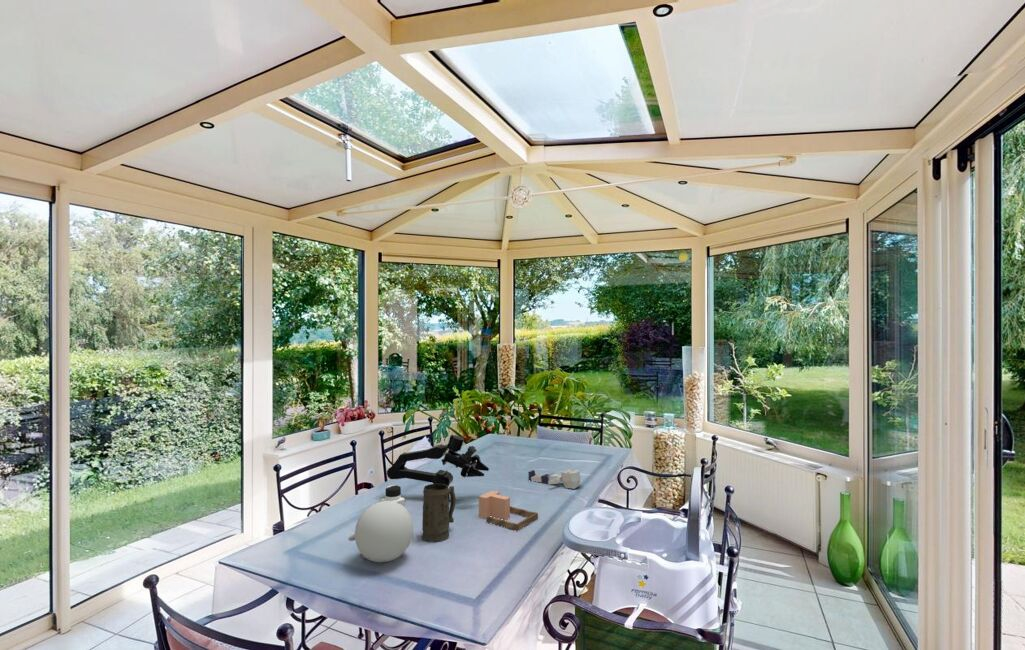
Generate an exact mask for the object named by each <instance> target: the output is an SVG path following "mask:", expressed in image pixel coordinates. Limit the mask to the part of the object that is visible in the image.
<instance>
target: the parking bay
mask: <svg viewBox="0 0 1025 650" xmlns="http://www.w3.org/2000/svg"><path fill="white" fill-rule="evenodd" d="M510 512H511V513H510V514H513V513H514V515H517V514H518V515H517V516H521V515H522V516H521V517H525V516H526V517H525V519H523V520H521V521H519V522H518V523H515V522H512V521H509V520H506V521H505V520H501V519H498V518H494V517H490V516H487V517H486V519H485V520H486V522H488V523H487V524H490V523H492V524H491V525H493V524H495V525H494V526H497V525H499V526H498V527H501V526H502V527H501V528H504V527H505V528H504V529H508V528H509V530H511V529H512V531H515V530H516V531H515V532H518V530H519V531H521V530H522V529H524V528H526V527H527V526H529V525H530V524H531V523H532V524H533V522H535V521H537V520H538V519H539V513H538V512H535V511H531V510H527V509H524V508H518V507H514V506H511V505H510ZM523 527H524V528H523ZM520 529H521V530H520Z"/></svg>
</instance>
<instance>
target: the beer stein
mask: <svg viewBox="0 0 1025 650" xmlns="http://www.w3.org/2000/svg"><path fill="white" fill-rule="evenodd" d="M422 494H423V503H422V524H421V525H422V528H421V529H422V534H421V538H422V539H423V540H424V541H425V540H426V542H429V541H439V542H443V541H445V540H447V539H448V538H449V537H450V531H449V530H450V523H451V524H452V523H454V520H455V519H454V517H453V514H454V511H455V507H456V502H457V501H456V498H457V497H456V493H455V486H454V485H451V486H450V485H449V486H447V485H445V484H433V483H432V484H431V483H430V484H426V485H425V486H424V487H423V490H422ZM448 494H449V497H450V500H449V501H448ZM449 502H450V503H449ZM442 540H443V541H442Z"/></svg>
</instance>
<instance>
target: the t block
mask: <svg viewBox="0 0 1025 650" xmlns="http://www.w3.org/2000/svg"><path fill="white" fill-rule="evenodd" d="M510 506H511V497H510V496H505V495H501V494H500V491H497V490H490V491H488V492H485V493H484V494H481V495H479V496H478V518H480V517H482V518H481V519H484V518H485V519H484V520H486V517H487V516H492V517H495V518H499V519H503V520H506V521H508V520H509V519H510V518H511V513H510ZM508 518H509V519H508Z"/></svg>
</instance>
